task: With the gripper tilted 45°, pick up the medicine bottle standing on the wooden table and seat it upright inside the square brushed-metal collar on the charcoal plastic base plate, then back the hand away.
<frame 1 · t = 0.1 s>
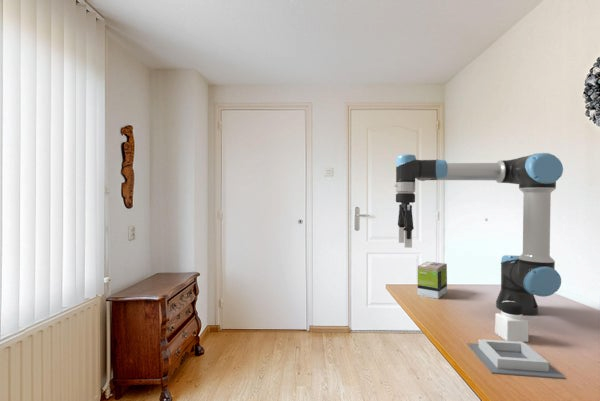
hand: (404, 245, 135), 28 cm above the table, tool pointing down, fingers open, 13 cm apart
tea box: (432, 294, 164), on the table
medicine bottle: (511, 338, 113), on the table
collar plate: (510, 361, 97), on the table
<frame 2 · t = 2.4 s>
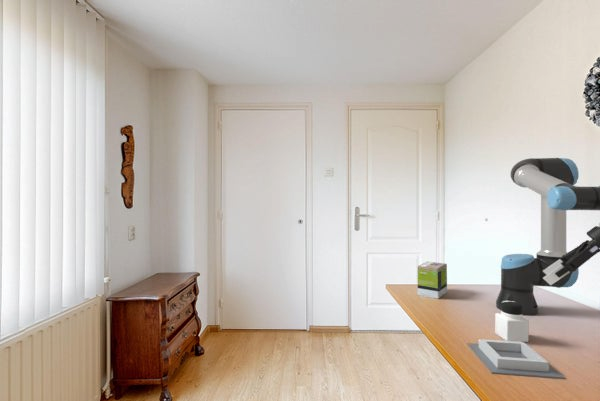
hand: (546, 277, 107), 22 cm above the table, tool tilted 45°, fingers open, 13 cm apart
nothing on the table moved.
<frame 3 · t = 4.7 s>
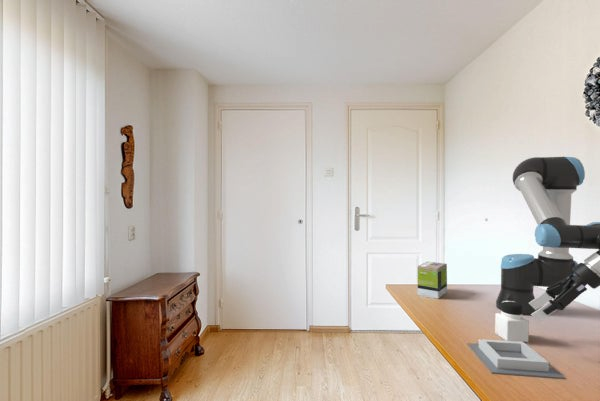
hand: (533, 312, 108), 10 cm above the table, tool tilted 45°, fingers open, 13 cm apart
nothing on the table moved.
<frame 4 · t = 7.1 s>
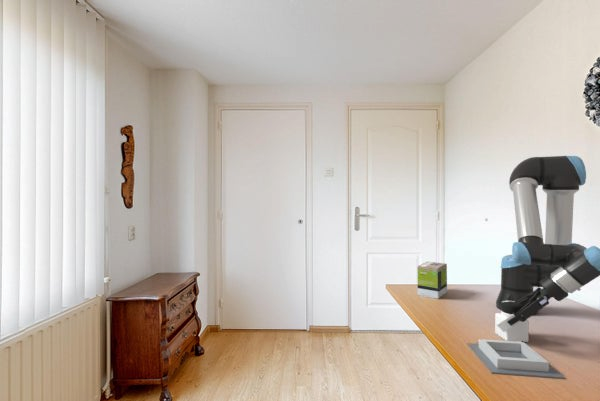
hand: (500, 323, 114), 4 cm above the table, tool tilted 45°, fingers closed on medicine bottle, 10 cm apart
medicine bottle: (511, 338, 113), on the table, touching gripper
everything else where it was.
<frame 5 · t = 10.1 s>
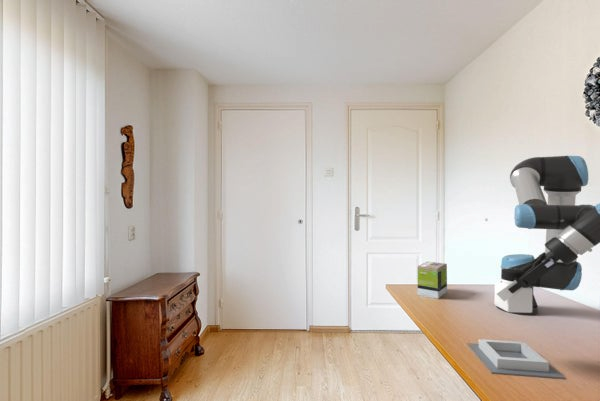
hand: (500, 293, 101), 18 cm above the table, tool tilted 45°, fingers closed on medicine bottle, 9 cm apart
medicine bottle: (512, 309, 99), point 14 cm above the table, touching gripper
everything else where it was.
when the fingers open (6 cm above the table, at t = 13.4 s): medicine bottle drops 2 cm, resting in collar plate.
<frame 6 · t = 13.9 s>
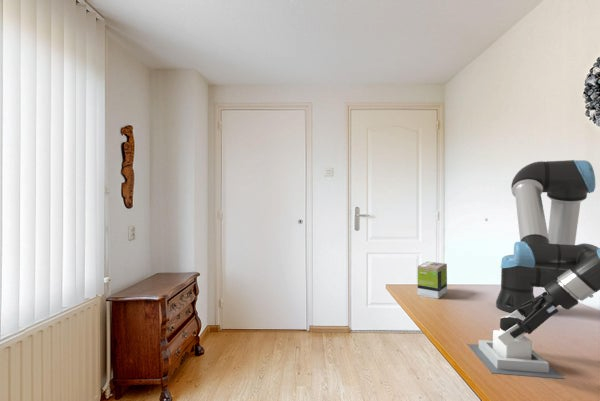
hand: (502, 332, 98), 7 cm above the table, tool tilted 45°, fingers open, 13 cm apart
medicine bottle: (511, 359, 97), resting on collar plate
everything else where it was.
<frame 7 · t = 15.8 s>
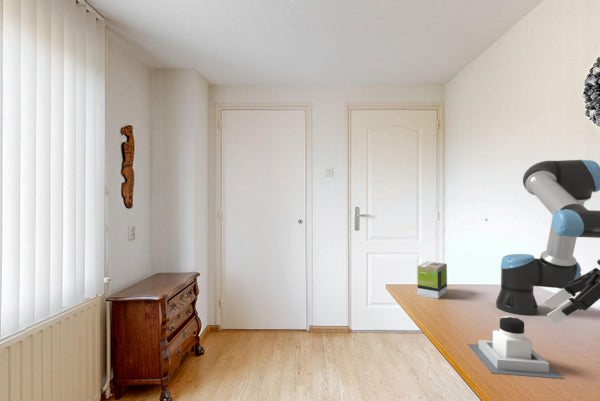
hand: (549, 311, 92), 16 cm above the table, tool tilted 45°, fingers open, 13 cm apart
medicine bottle: (511, 360, 97), resting on collar plate
collar plate: (510, 362, 97), on the table, touching medicine bottle
everything else where it was.
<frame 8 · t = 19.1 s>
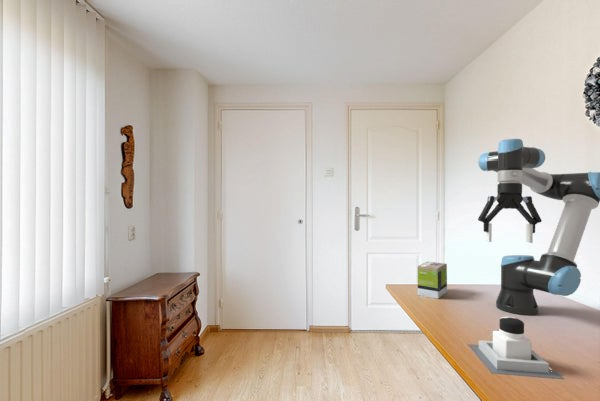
hand: (508, 241, 119), 32 cm above the table, tool pointing down, fingers open, 13 cm apart
nothing on the table moved.
at the end: medicine bottle 0.1 cm off-centre on the collar plate, point 0.8 cm above the collar plate's base; medicine bottle tilted 0°; the gripper is holding nothing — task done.
